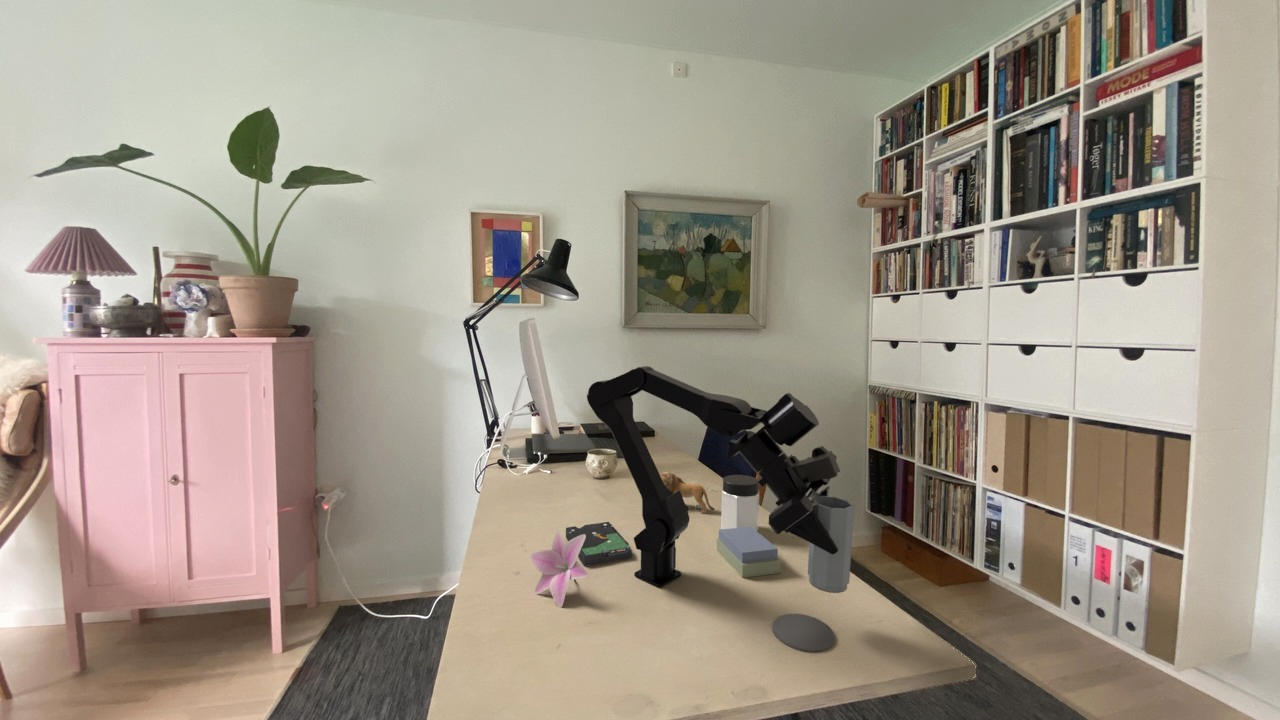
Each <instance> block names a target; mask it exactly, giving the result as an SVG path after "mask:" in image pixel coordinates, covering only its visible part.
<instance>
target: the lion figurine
mask: <svg viewBox="0 0 1280 720" xmlns="http://www.w3.org/2000/svg"><path fill="white" fill-rule="evenodd" d="M659 474H660V476H661V478H662V480H663V483H664V485H665V486H666V487H667V488H668V489H669V490H670V491H671V492H672V493H675V492H677V491H680V492H681V494H682V497H683V498H687V499H688V498H692V497H693V498H694V499H695V501H696V503H697V504H696V505H695V508H696V509H700V508H701V507H702V510H701V512H700V513H701V514H707V511H708V509H707V506H708V508H709V509H710V510H711V511H715V510H716V508H714V507H712V506H711V505H710V502H709V497H708V495H707V492H706V489H705V488H704V487H703V486H702V485H701V484H700V483H699V484H698V483H686V482H684V481H683V479H682V478H680V476H676V475H675V474H674V473H672V472H670V471H664V472H662V473H659ZM703 497H704V499H705V502H706V503H705V502H704V500H703Z"/></svg>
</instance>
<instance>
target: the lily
mask: <svg viewBox="0 0 1280 720" xmlns="http://www.w3.org/2000/svg"><path fill="white" fill-rule="evenodd" d="M585 538H586V535H585V534H583V535H580V536H577V537H575V538H573V539H571V540H570V541H568V540H567V542H565V541H564V538H563V535H562V534H561V532H560V531H559V530H557V531H556V533H555V535H554V537H553V540H552V544H551V549H542V550H538V551H535V552H534V551H533V552H532V553H530V554H529V555H528V559H529V561H530V562H531V564H532V565H533V567H534V568H535V569H536V570H537V571H538V572H539V573H541V576H540V578H539V579H538V582H537V584H536V586H535V589H534V594H535V595H538V594H540V593H542V592H544V591H546V590H548V589H549V590H550V593H551V596H552V598H553V600H554V602H555V605H556V606H557V607H558V608H562V607H563V605H564V602H565V597H566V594H567V591H568V587H569V584H570V581H571V580H573V581H574V582H576V581H577V580H580V579H583V578H587V577H589V572H588V571H587V570H586V568H585V566H583V564H582V563H581V562H579V561H577V560H578V555H579V552H580V550H581V548H582V545H583V543H584V541H585Z"/></svg>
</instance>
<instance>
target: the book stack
mask: <svg viewBox="0 0 1280 720" xmlns="http://www.w3.org/2000/svg"><path fill="white" fill-rule="evenodd" d="M716 551H717V552H718V553H719V554H720V555H721V557H722V558H724V560H725V561H726V562H727V563H728V564H729V565H730V566H731V567H732V569H734V570H735V571H736V573H737V574H738V575H739V576H740V577H741V578H742V579H743V578H750V577H759V576H768V575H774V574H781V573H782V560H781V559H780V558H779V557H778V555H779V550H778V547H776V546H775V545H774V544H773V543H771V541H769V540H768V539H767V538H766V537H764V536H763V535H762V534H761V533H759V532H758V531H756V530H755V529H753V528H752V527H742V528H731V529H721V528H720V529H718V538H716Z"/></svg>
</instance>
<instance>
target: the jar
mask: <svg viewBox="0 0 1280 720" xmlns="http://www.w3.org/2000/svg"><path fill="white" fill-rule="evenodd" d="M759 480H760V479H758V478H756V477H753V476H751V475H745V474H731V475H730V474H729V475H726V476H724V477H723V478H722V491H721V515H720V516H721V520H720V521H721V522H720V523H721V524H720V527H721V528H720V530H721V529H731V528H742V527H752V528H753V529H755V530H756V531H757V532H758V531H759V523H760V522H759V520H760V519H759V518H760V517H759V516H760V513H759V512H760V484H759V483H758V481H759Z"/></svg>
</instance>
